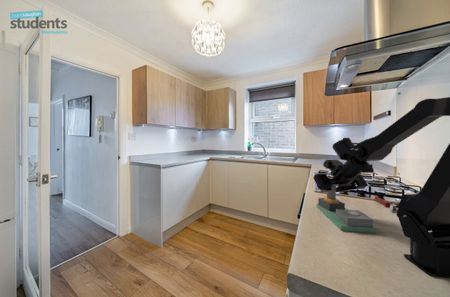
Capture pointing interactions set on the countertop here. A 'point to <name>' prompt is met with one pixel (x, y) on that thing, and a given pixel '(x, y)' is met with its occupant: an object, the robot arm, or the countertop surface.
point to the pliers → (386, 203)
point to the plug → (331, 195)
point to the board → (342, 225)
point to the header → (331, 205)
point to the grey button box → (354, 218)
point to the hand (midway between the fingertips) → (328, 191)
